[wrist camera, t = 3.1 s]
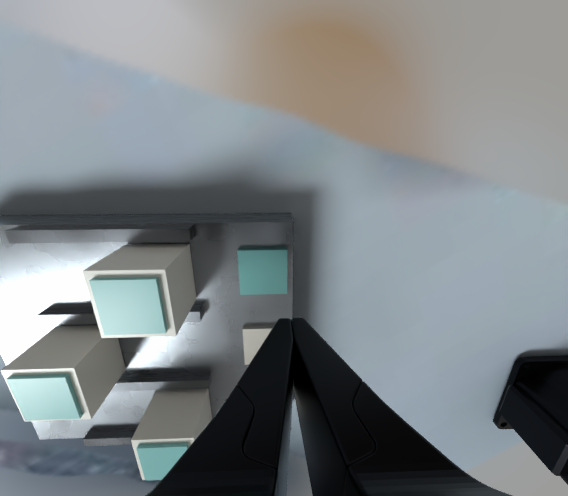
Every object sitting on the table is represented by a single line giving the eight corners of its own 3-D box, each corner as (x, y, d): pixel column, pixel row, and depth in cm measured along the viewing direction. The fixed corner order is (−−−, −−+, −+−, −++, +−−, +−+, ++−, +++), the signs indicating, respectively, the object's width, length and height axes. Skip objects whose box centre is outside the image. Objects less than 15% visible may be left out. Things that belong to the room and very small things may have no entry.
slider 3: (208, 386, 16) (192, 442, 13) (212, 422, 17) (199, 481, 14) (156, 388, 15) (128, 444, 12) (164, 424, 16) (140, 484, 13)
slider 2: (189, 243, 13) (163, 271, 10) (196, 298, 14) (174, 339, 11) (125, 244, 12) (78, 273, 9) (137, 299, 13) (98, 341, 10)
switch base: (290, 213, 14) (294, 225, 12) (289, 402, 19) (291, 439, 17) (-13, 215, 14) (-74, 229, 11) (63, 410, 18) (31, 449, 16)
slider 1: (114, 324, 14) (70, 371, 11) (125, 369, 15) (88, 423, 12) (56, 326, 14) (-5, 374, 11) (71, 370, 15) (20, 425, 12)
